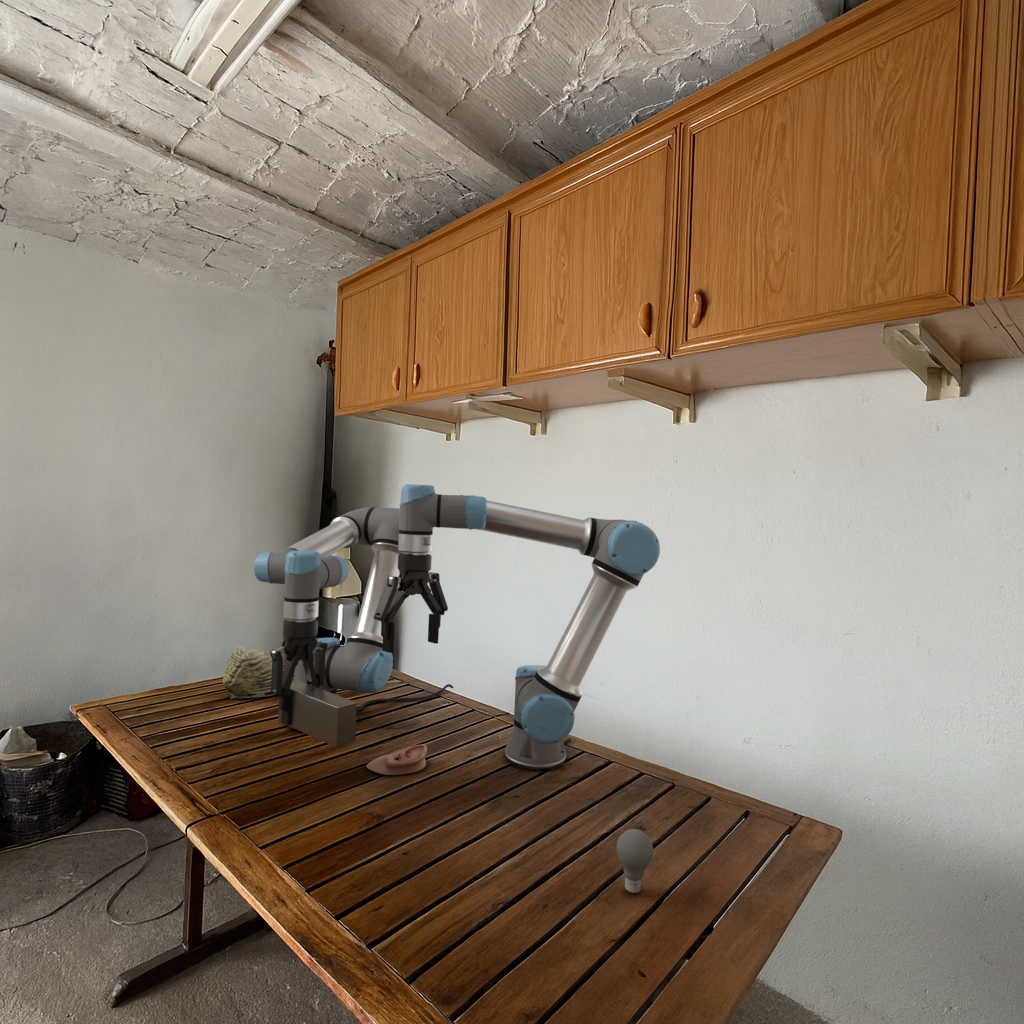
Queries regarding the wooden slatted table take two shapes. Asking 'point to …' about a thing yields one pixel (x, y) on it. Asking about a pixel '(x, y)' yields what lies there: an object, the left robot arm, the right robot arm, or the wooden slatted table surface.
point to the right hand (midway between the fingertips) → (411, 647)
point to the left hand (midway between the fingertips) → (297, 720)
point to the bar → (322, 714)
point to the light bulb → (634, 857)
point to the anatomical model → (400, 761)
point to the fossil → (248, 673)
